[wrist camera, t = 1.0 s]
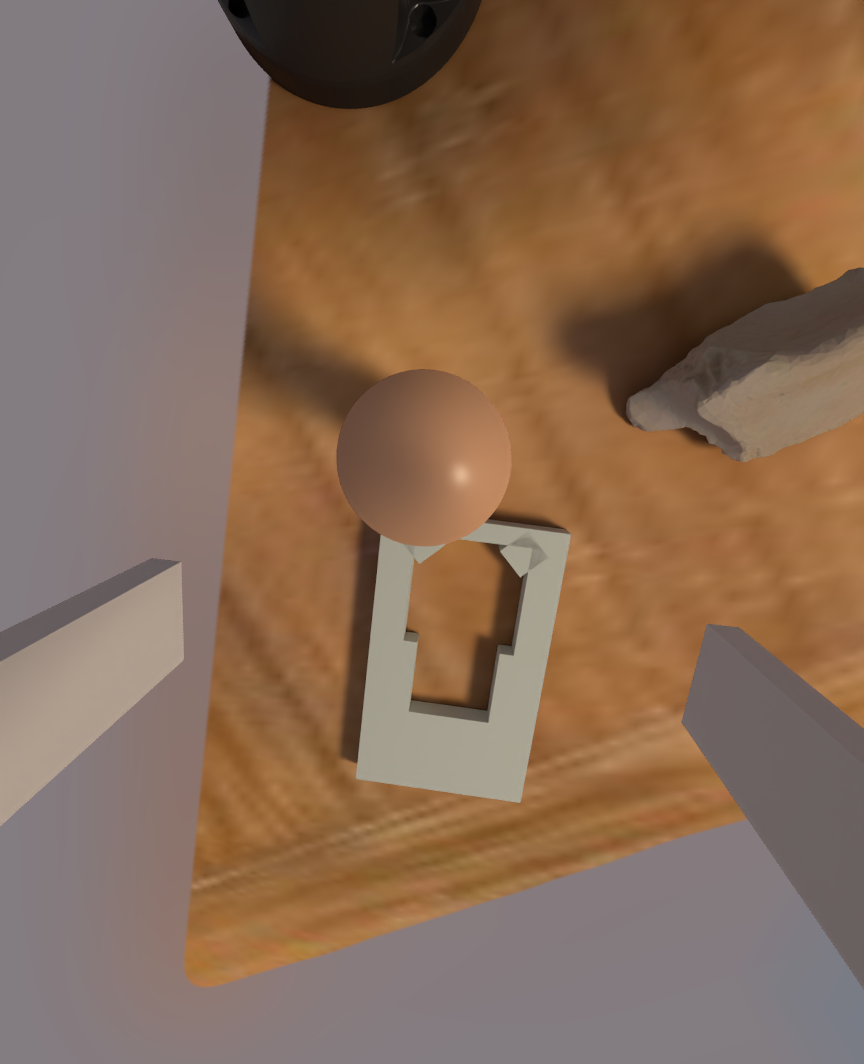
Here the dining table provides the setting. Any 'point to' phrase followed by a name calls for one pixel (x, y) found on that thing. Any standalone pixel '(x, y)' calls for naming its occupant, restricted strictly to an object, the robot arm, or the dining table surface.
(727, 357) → the decorative stone
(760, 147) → the dining table surface
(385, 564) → the keyhole board
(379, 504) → the peg
